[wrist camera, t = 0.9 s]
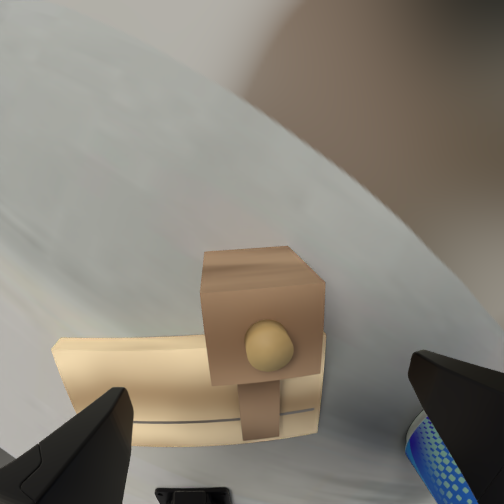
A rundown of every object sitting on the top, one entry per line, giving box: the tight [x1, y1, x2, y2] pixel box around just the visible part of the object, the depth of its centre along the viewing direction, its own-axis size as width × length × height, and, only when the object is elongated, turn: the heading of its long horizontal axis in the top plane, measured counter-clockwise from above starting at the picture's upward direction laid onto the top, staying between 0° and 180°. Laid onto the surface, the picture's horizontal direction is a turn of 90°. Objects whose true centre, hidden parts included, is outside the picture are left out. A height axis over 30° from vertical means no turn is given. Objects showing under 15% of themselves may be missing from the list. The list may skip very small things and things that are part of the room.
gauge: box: [200, 246, 325, 441], centre depth 15 cm, size 11×4×7 cm, turn 2°
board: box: [51, 331, 326, 447], centre depth 18 cm, size 8×16×2 cm, turn 92°
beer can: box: [405, 410, 478, 504], centre depth 15 cm, size 8×8×16 cm
